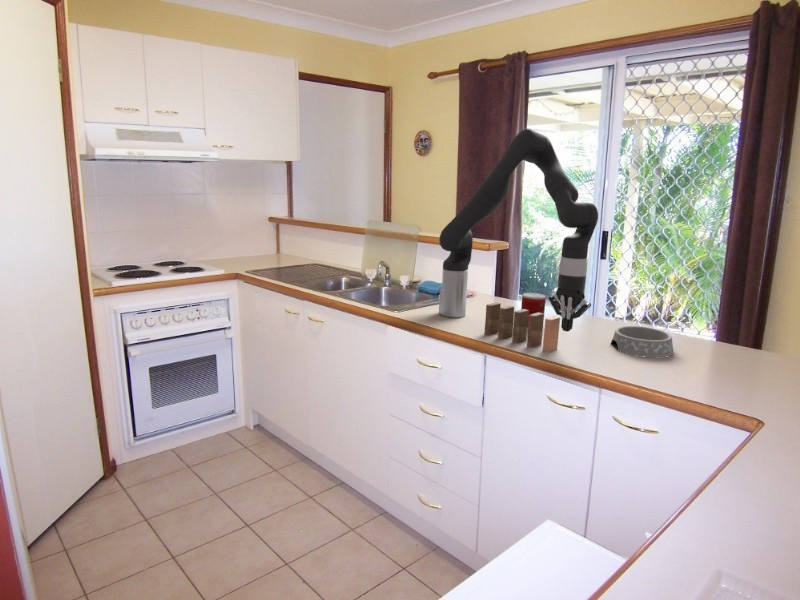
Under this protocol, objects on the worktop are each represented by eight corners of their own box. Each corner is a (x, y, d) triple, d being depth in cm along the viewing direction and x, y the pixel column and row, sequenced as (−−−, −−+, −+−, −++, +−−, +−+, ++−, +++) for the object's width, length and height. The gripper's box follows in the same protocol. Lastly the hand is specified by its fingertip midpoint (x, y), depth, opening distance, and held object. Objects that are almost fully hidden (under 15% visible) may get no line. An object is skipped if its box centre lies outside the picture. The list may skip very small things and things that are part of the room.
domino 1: (484, 333, 180) (486, 304, 177) (493, 331, 183) (495, 302, 181) (489, 335, 178) (491, 305, 176) (498, 332, 182) (500, 303, 179)
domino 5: (542, 350, 164) (545, 318, 162) (551, 347, 168) (554, 315, 165) (548, 352, 163) (551, 320, 161) (557, 348, 166) (560, 317, 164)
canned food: (542, 329, 187) (545, 298, 184) (518, 327, 189) (521, 296, 187) (544, 324, 194) (546, 294, 191) (521, 321, 196) (523, 291, 194)
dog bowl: (625, 358, 160) (627, 340, 159) (603, 339, 178) (605, 323, 177) (683, 359, 160) (685, 342, 159) (655, 341, 178) (657, 325, 177)
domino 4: (526, 346, 168) (529, 314, 166) (535, 343, 171) (538, 312, 169) (532, 347, 167) (535, 316, 164) (541, 344, 170) (544, 313, 168)
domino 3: (512, 341, 172) (514, 311, 170) (521, 338, 175) (523, 308, 173) (517, 343, 171) (519, 312, 168) (526, 340, 174) (528, 310, 172)
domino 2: (497, 337, 176) (500, 307, 174) (507, 335, 179) (509, 305, 177) (503, 339, 174) (505, 309, 172) (512, 336, 178) (514, 306, 176)
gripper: (600, 275, 154) (593, 333, 158) (558, 268, 163) (553, 323, 167) (587, 278, 149) (580, 338, 153) (545, 270, 158) (539, 327, 162)
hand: (566, 330), depth 160 cm, fingers closed
